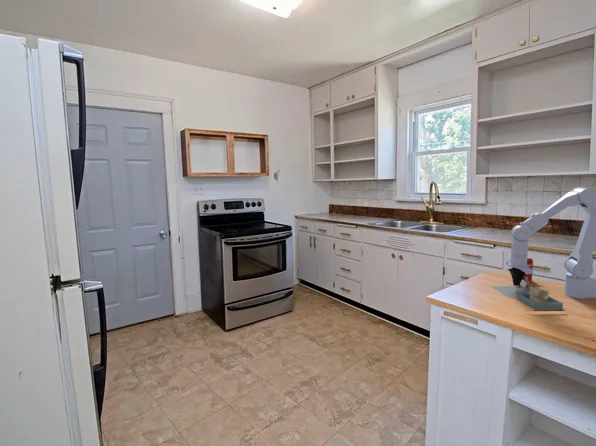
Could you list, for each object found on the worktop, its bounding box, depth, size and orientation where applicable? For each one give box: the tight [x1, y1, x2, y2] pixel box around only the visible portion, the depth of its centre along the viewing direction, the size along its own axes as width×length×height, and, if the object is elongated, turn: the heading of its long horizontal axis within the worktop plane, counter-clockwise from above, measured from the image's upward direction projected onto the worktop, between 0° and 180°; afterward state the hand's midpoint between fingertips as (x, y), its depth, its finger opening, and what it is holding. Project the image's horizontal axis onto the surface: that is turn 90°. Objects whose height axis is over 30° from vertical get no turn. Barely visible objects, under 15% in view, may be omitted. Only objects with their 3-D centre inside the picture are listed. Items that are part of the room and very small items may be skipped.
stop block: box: [529, 286, 549, 303], centre depth 124 cm, size 4×4×6 cm
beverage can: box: [522, 255, 534, 283], centre depth 151 cm, size 6×6×12 cm
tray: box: [516, 294, 564, 312], centre depth 124 cm, size 10×10×3 cm
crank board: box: [490, 285, 531, 299], centre depth 137 cm, size 16×14×1 cm
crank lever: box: [515, 280, 530, 294], centre depth 138 cm, size 12×4×3 cm, turn 140°
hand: (516, 285), depth 138 cm, fingers closed, pressing on crank lever
